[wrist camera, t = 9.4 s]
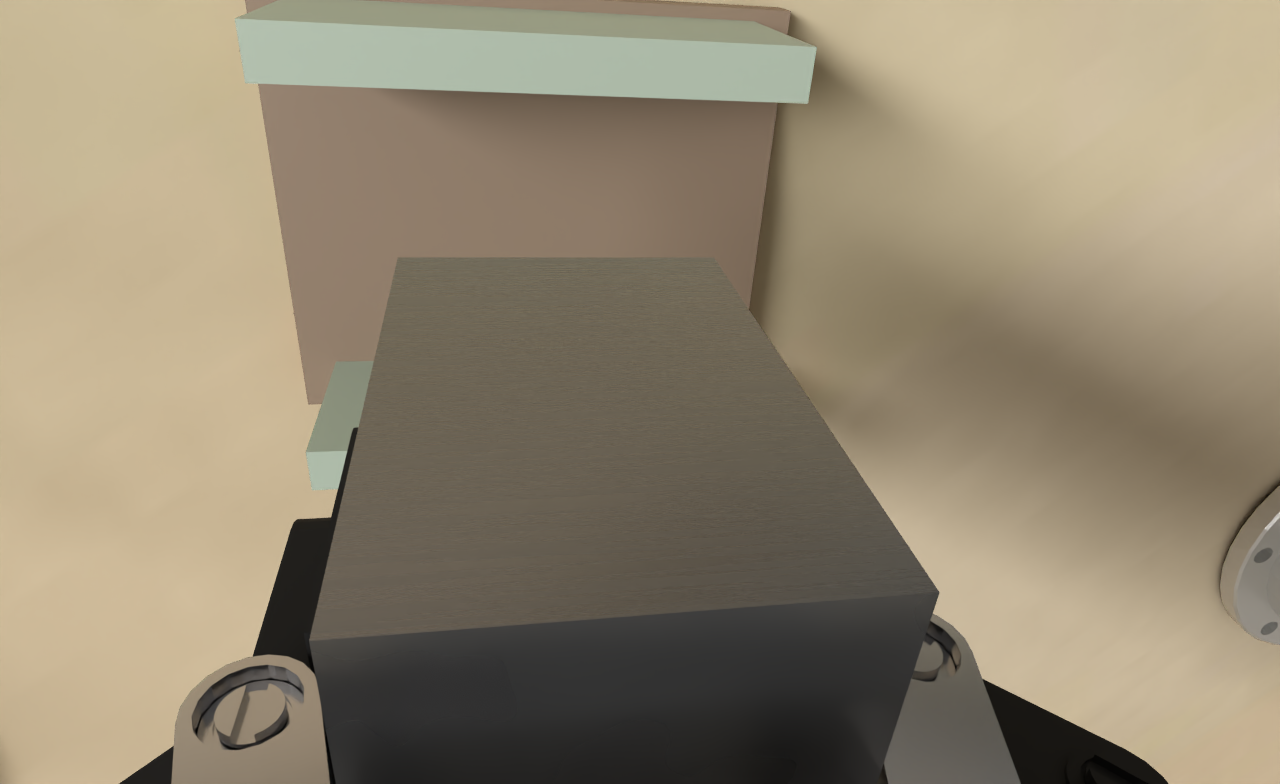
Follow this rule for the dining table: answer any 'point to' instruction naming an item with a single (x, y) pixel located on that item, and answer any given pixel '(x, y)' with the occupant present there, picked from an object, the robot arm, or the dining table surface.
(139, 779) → the robot arm
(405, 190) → the post slot
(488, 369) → the tall grey upright block
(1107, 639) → the dining table surface
